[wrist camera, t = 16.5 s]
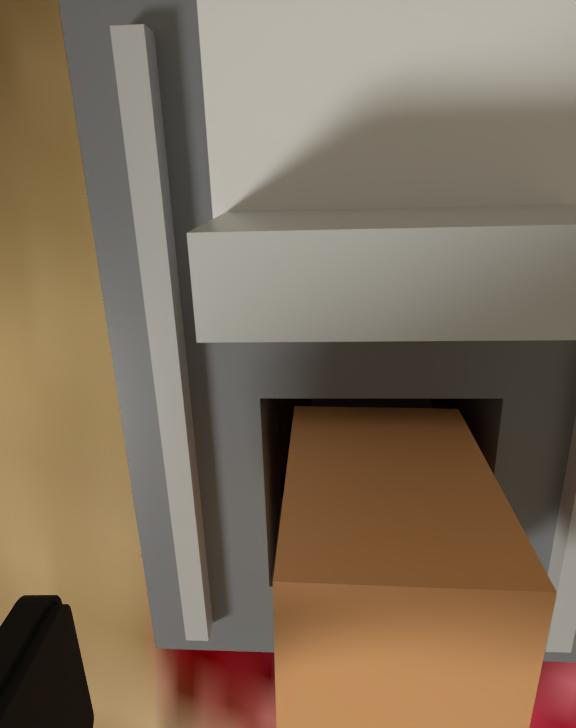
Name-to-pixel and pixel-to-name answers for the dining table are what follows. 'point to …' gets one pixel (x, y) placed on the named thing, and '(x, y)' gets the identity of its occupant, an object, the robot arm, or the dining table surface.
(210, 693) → the dining table surface
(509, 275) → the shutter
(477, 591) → the tan rectangular block
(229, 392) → the grey sliding cover box
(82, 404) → the dining table surface
